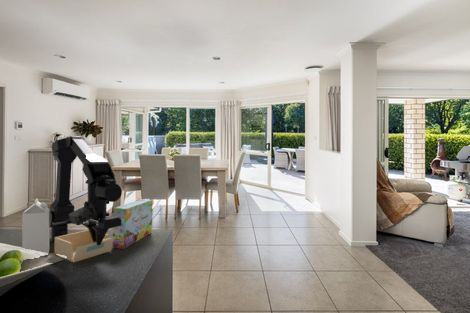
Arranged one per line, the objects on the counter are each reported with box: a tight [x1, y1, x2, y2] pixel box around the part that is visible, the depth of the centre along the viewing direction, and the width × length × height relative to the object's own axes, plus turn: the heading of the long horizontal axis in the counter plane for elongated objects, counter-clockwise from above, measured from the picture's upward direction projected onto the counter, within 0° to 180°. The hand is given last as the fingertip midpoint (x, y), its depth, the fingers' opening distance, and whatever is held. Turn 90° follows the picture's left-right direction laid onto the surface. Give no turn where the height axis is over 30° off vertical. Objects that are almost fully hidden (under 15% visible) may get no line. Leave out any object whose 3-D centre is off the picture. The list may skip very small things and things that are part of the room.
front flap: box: [72, 236, 114, 263], centre depth 102 cm, size 1×13×6 cm, turn 146°
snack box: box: [111, 198, 153, 250], centre depth 122 cm, size 21×6×15 cm, turn 168°
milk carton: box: [21, 197, 50, 254], centre depth 104 cm, size 7×7×19 cm
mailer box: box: [54, 229, 109, 263], centre depth 106 cm, size 11×13×6 cm
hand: (97, 244), depth 101 cm, fingers closed
